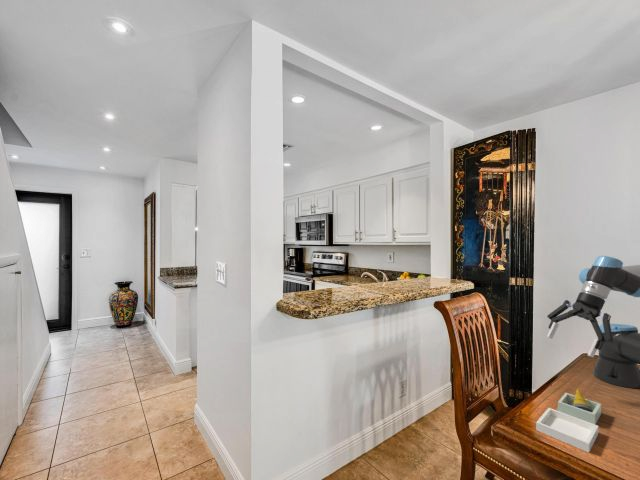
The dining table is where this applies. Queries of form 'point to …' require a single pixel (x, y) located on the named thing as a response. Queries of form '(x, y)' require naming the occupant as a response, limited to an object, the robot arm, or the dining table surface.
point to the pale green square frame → (577, 412)
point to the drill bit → (581, 402)
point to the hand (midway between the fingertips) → (568, 346)
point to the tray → (568, 429)
